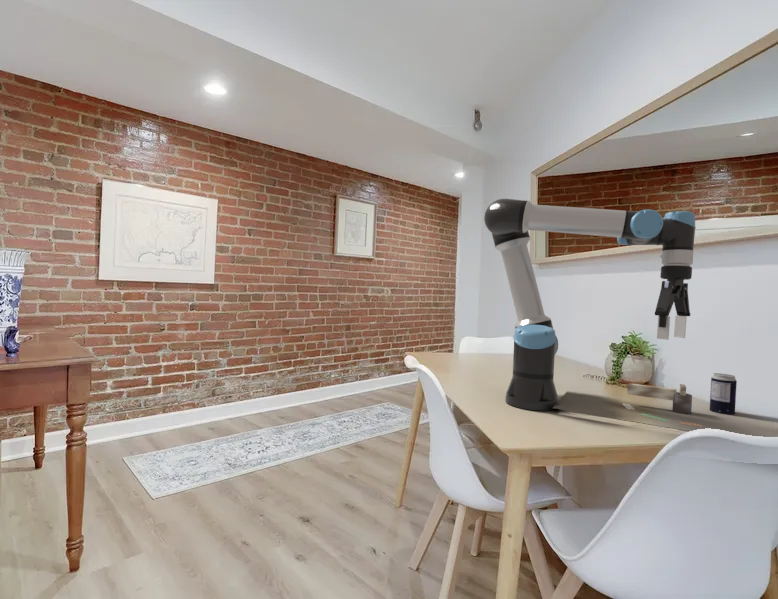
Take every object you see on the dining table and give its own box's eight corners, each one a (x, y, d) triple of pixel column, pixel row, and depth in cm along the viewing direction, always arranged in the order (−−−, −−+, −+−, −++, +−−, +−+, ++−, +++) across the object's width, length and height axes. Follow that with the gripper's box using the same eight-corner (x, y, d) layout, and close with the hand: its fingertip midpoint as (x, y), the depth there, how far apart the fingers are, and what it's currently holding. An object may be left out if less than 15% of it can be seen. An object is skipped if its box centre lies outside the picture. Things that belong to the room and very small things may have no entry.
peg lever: (616, 403, 126) (618, 378, 126) (617, 400, 129) (619, 376, 129) (691, 415, 116) (693, 388, 116) (690, 411, 120) (691, 385, 120)
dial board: (613, 418, 115) (614, 413, 115) (617, 404, 130) (617, 400, 130) (705, 434, 104) (705, 428, 104) (697, 416, 120) (698, 411, 120)
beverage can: (739, 420, 118) (741, 377, 117) (716, 418, 119) (718, 376, 118) (727, 414, 123) (729, 373, 123) (705, 413, 124) (707, 372, 124)
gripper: (676, 268, 134) (672, 335, 134) (645, 262, 118) (640, 338, 119) (705, 268, 128) (700, 338, 128) (676, 262, 112) (670, 341, 113)
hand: (671, 338), depth 124 cm, fingers open, 13 cm apart
